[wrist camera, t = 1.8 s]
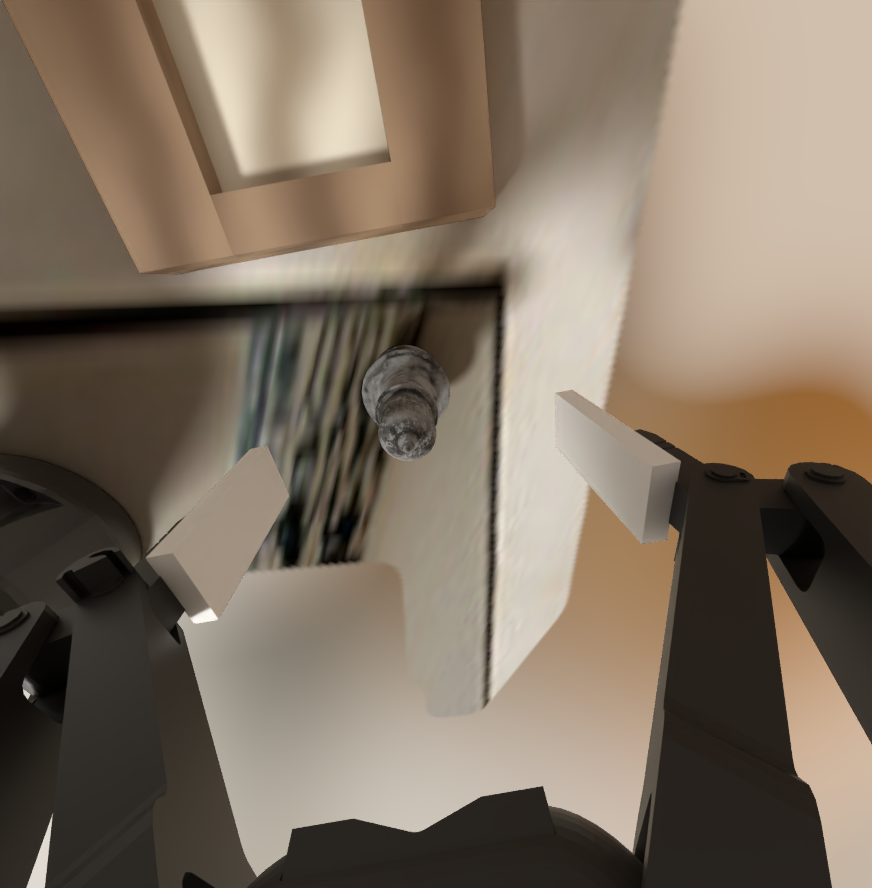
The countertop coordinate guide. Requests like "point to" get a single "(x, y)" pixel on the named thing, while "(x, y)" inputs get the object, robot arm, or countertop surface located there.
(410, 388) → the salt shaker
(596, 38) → the countertop surface
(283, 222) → the wooden frame
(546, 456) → the countertop surface
